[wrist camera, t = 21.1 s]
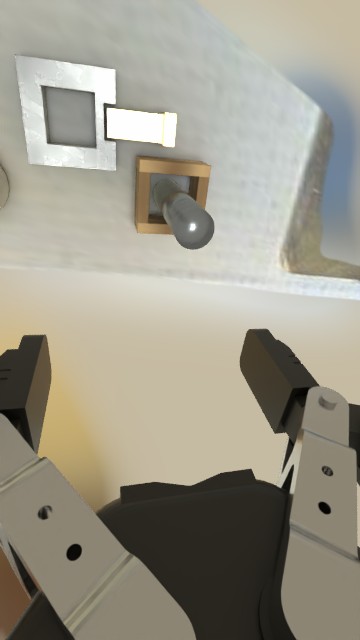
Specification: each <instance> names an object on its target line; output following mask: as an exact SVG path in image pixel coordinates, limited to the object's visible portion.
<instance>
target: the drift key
mask: <svg viewBox="0 0 360 640" xmlns="http://www.w3.org/2000/svg"><path fill="white" fill-rule="evenodd" d="M176 117H177V114H173V113H160V114H153V113H145V112H137V111H129V110H121V109H113V108H107V137H108V138H116V139H126V140H136V141H145V142H155V143H159V144H161V145H163V146H170V147H174V142H175V130H176Z"/></svg>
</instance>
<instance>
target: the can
mask: <svg viewBox="0 0 360 640" xmlns="http://www.w3.org/2000/svg"><path fill="white" fill-rule="evenodd" d="M8 193H9V185H8V181H7V178H6V174H5V173H4V171H3V169H2V168H1V166H0V209H1V208H2V207H3V206H4V205H5V203H6V201H7V198H8Z"/></svg>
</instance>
